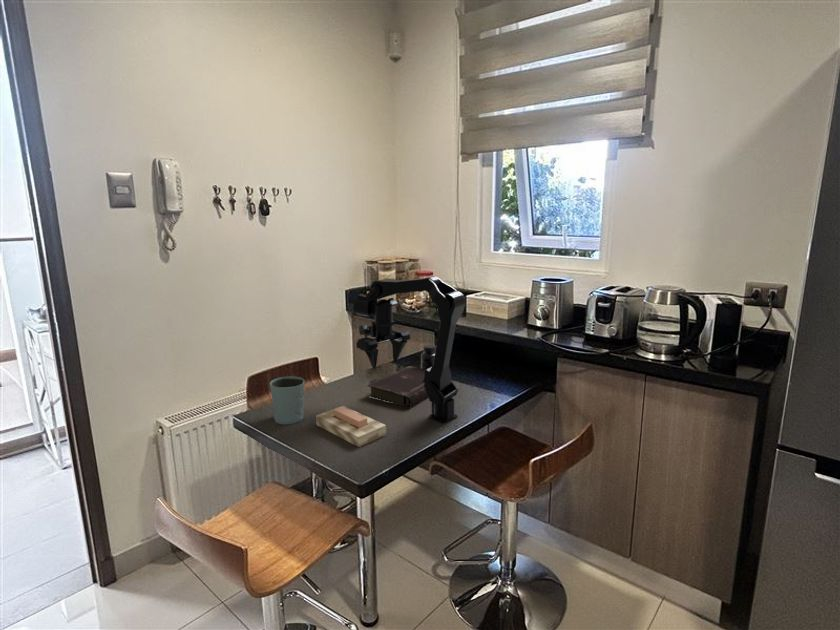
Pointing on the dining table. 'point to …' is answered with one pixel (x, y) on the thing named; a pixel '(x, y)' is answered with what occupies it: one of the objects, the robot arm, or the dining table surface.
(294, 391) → the teal cup
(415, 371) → the diary
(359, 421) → the pink rectangular block
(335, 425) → the cream two-hole slab
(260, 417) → the dining table surface
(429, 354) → the supplement bottle
